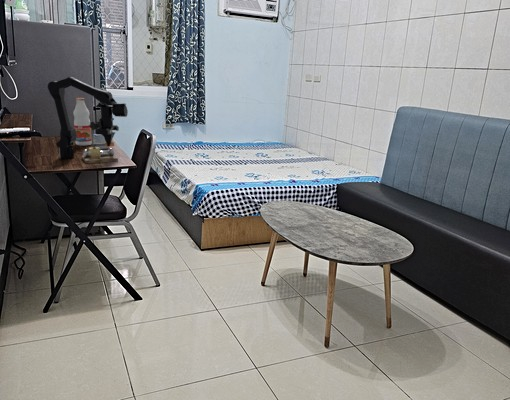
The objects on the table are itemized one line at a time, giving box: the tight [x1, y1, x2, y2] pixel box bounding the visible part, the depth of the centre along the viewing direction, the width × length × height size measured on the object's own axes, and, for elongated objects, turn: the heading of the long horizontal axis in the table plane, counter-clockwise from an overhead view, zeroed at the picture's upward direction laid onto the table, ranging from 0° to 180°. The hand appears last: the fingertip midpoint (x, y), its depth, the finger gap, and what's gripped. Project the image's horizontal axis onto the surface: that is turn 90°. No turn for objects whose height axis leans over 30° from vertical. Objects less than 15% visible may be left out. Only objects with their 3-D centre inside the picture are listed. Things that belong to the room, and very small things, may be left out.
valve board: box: [81, 146, 119, 164], centre depth 231 cm, size 16×13×7 cm
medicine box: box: [92, 133, 110, 150], centre depth 260 cm, size 8×4×9 cm, turn 141°
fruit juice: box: [72, 97, 93, 146], centre depth 268 cm, size 9×9×28 cm
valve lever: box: [90, 141, 115, 147], centre depth 232 cm, size 11×3×2 cm, turn 114°
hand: (108, 146), depth 232 cm, fingers closed
